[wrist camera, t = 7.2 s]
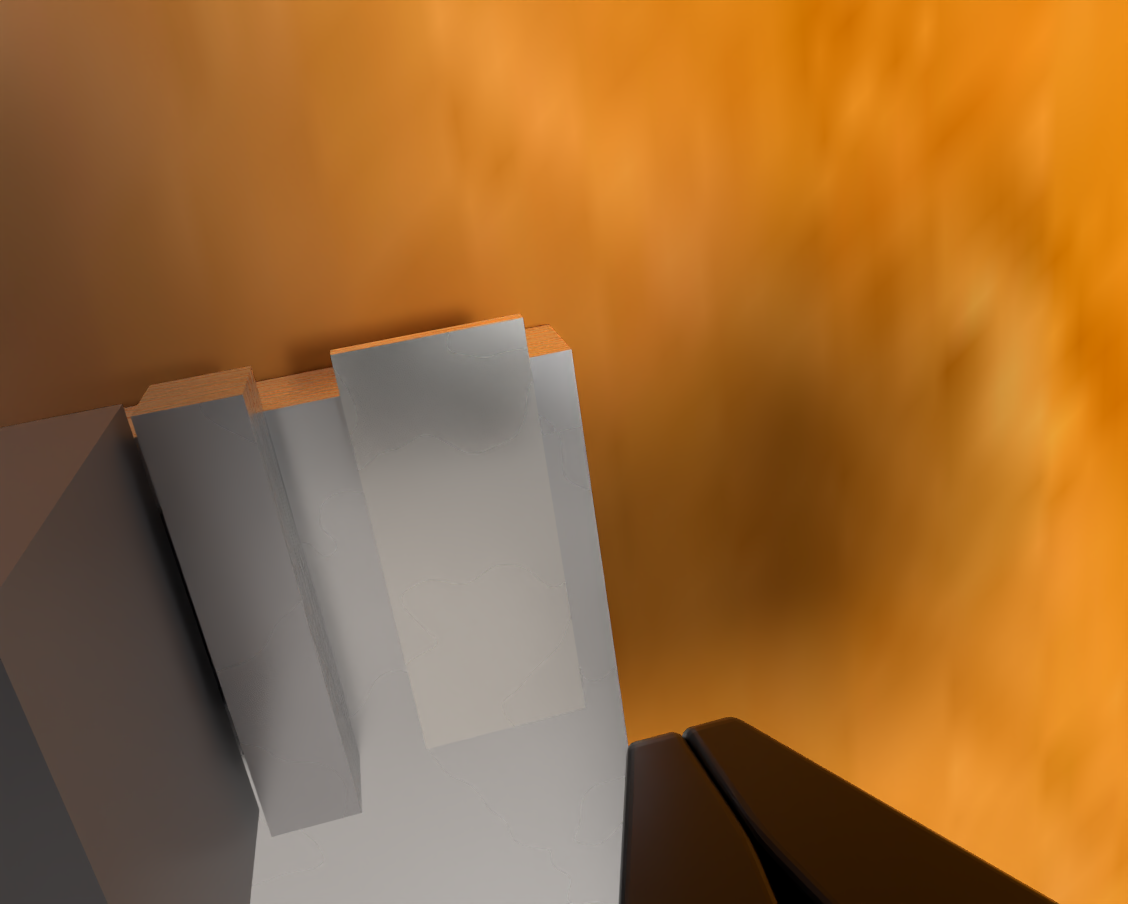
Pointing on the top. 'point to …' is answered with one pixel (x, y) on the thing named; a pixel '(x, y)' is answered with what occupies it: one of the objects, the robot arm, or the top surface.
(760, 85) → the top surface
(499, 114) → the top surface
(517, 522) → the panel
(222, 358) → the top surface
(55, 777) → the block
